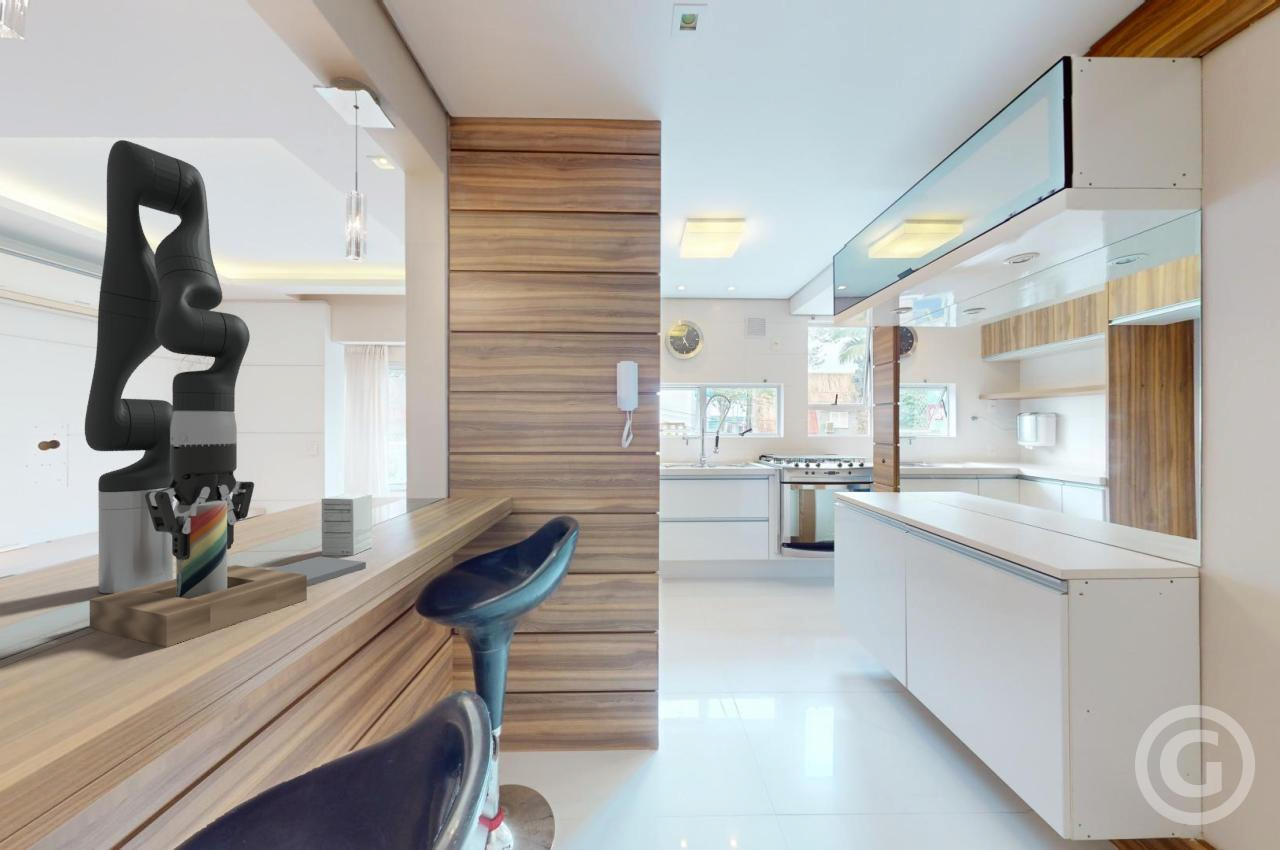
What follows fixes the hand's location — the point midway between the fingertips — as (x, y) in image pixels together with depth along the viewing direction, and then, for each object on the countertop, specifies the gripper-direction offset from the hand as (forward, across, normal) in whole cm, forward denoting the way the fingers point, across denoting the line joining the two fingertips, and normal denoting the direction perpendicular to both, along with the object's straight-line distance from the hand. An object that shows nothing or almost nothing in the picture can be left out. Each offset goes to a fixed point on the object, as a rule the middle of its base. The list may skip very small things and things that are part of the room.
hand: (204, 553), depth 73 cm
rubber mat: (+9, -20, -1) cm, 21 cm away
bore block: (+9, 0, 0) cm, 9 cm away
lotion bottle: (+8, 0, 0) cm, 8 cm away
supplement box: (+9, -36, -7) cm, 38 cm away
